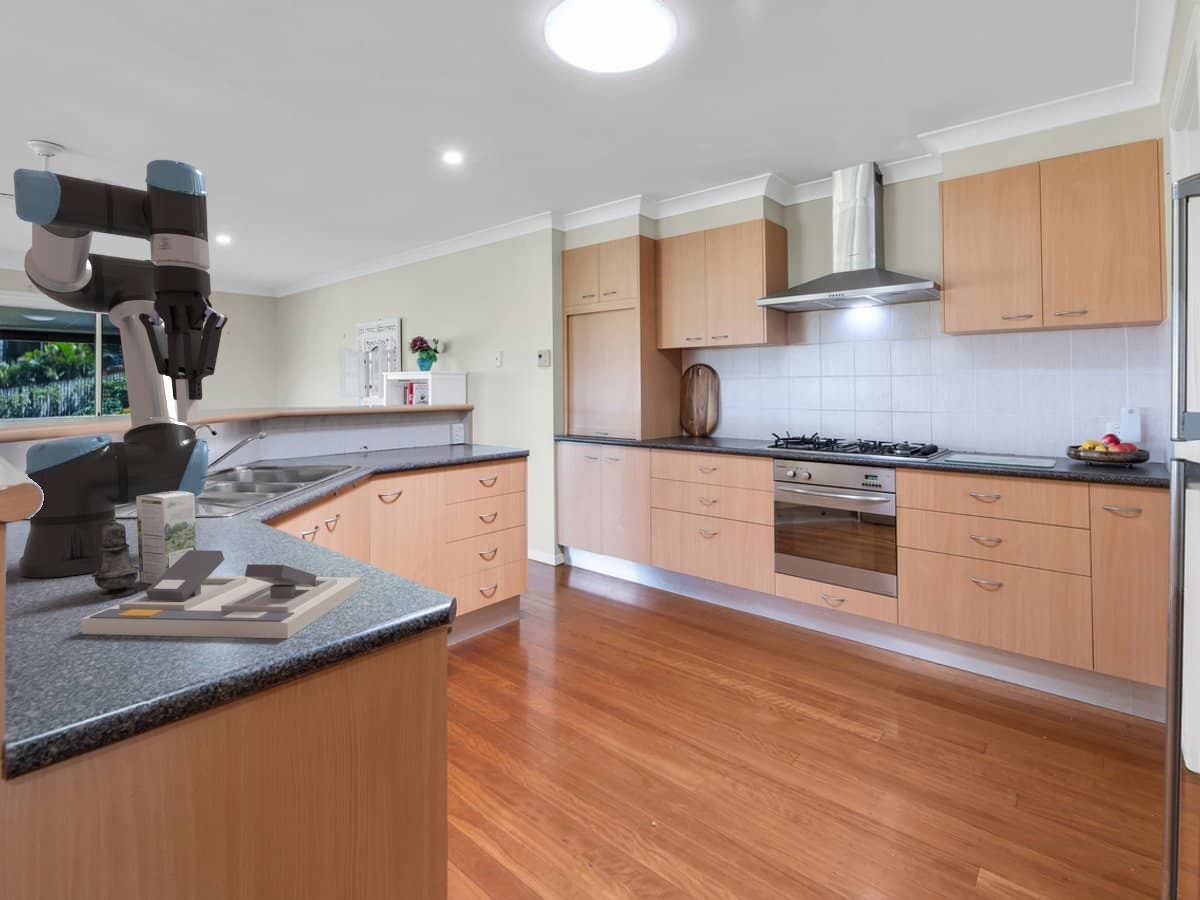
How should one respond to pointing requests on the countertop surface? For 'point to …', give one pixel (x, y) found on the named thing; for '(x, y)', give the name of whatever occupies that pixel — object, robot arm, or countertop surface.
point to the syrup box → (164, 531)
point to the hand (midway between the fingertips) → (188, 421)
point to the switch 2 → (280, 574)
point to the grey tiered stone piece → (115, 564)
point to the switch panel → (227, 609)
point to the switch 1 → (185, 575)
